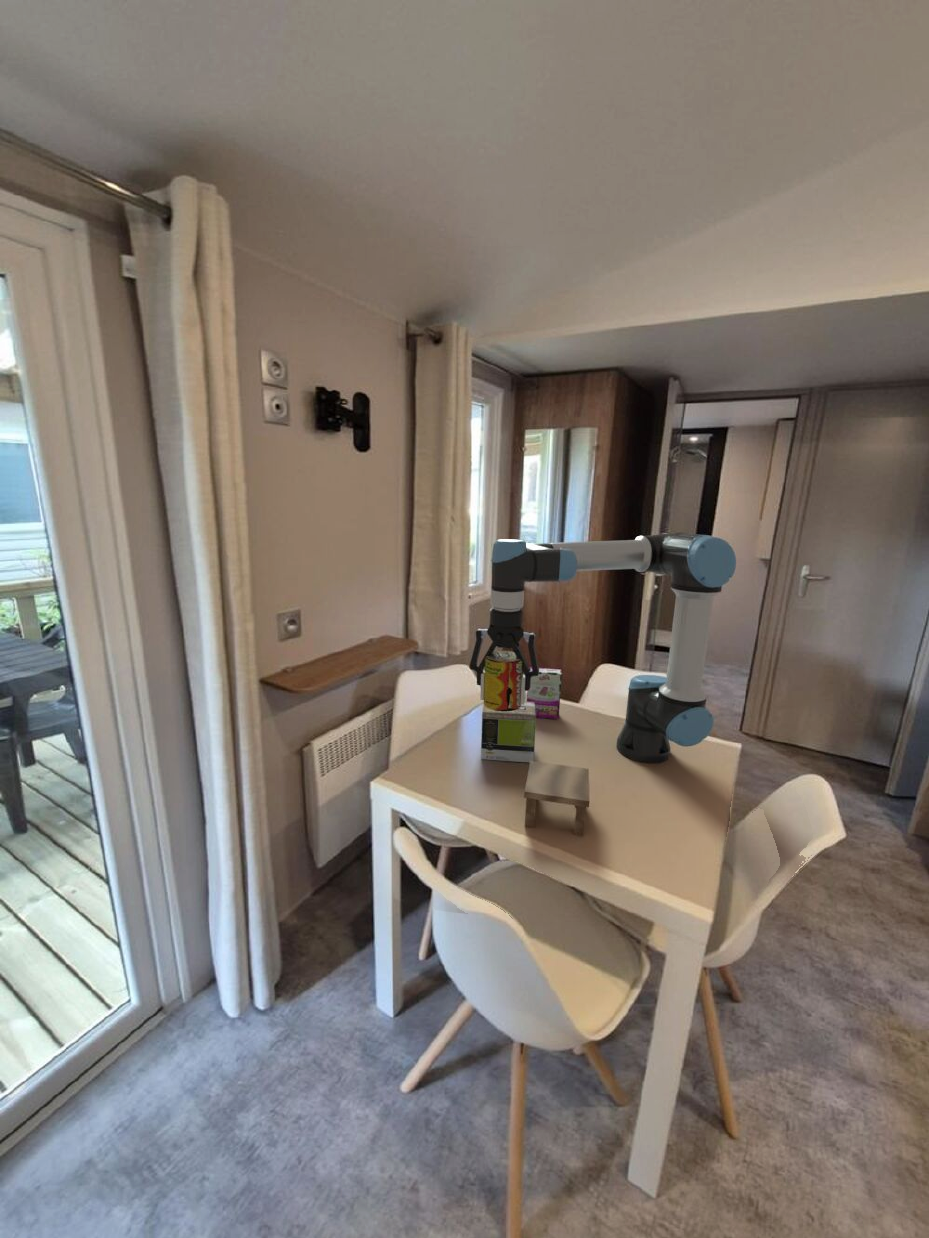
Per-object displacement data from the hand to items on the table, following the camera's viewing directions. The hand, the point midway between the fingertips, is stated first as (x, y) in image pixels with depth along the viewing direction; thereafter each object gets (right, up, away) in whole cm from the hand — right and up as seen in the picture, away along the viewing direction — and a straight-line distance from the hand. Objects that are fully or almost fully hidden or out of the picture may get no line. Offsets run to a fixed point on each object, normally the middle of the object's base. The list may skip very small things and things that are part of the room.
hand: (502, 699), depth 122 cm
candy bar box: (+18, -14, +53) cm, 57 cm away
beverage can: (0, -1, 0) cm, 1 cm away
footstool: (+12, -27, -2) cm, 29 cm away
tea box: (+3, -20, +26) cm, 33 cm away
